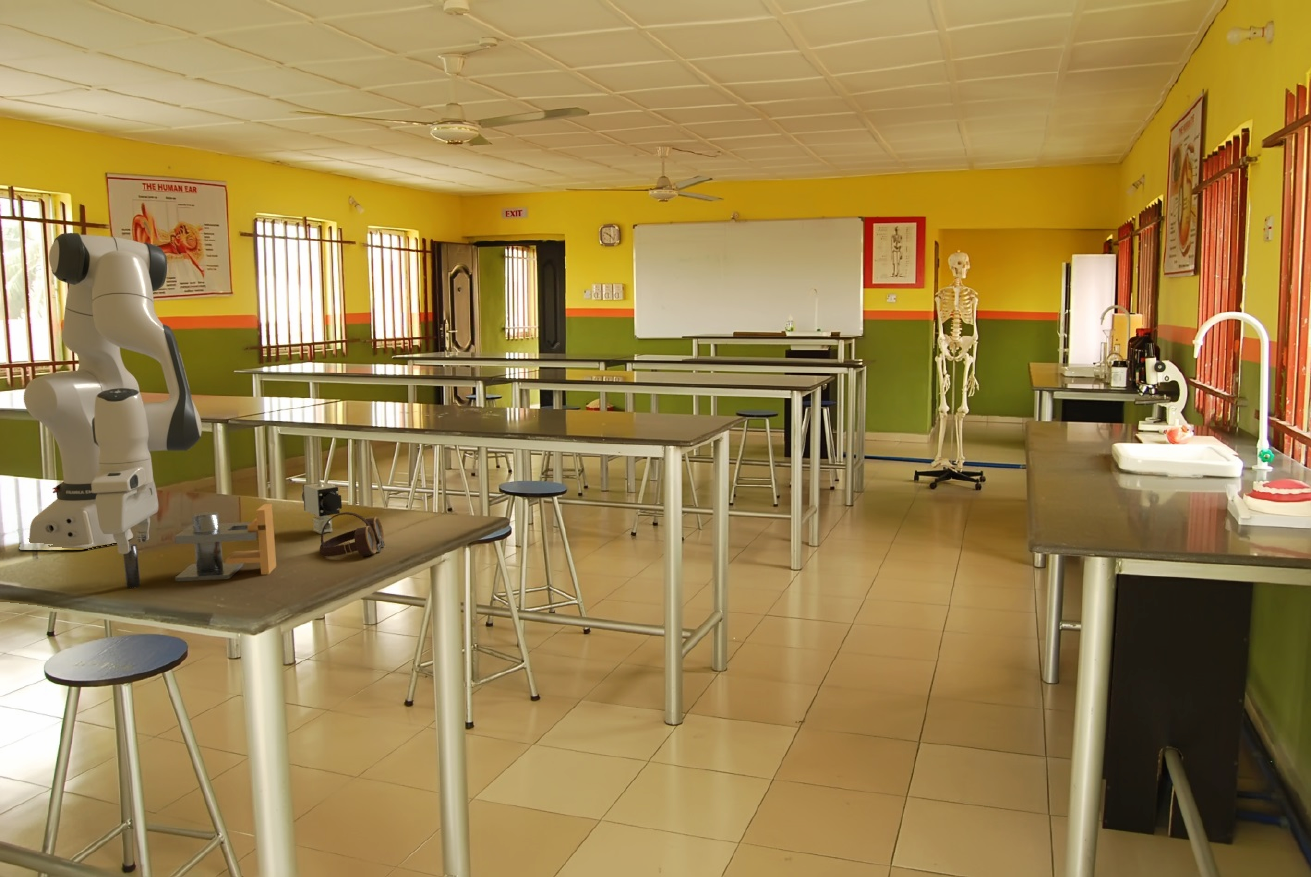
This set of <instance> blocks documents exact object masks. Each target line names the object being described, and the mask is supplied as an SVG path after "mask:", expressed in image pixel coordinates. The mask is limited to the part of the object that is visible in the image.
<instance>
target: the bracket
mask: <svg viewBox="0 0 1311 877" xmlns="http://www.w3.org/2000/svg"><path fill="white" fill-rule="evenodd" d="M255 511H256V518H254V520H252V521H250V522H251V523H250V524H249V525H248V531H254V530H258V547H259V548H258V550H256V549H255V550H254V549H253V550H237V551H233V552H231V553H230V555H229V556H227V557H226V558H225V562H226V564H236V563H243V564H253V563H255V564H256V563H259V564H260V575H262V576H263V575H270V574H271V573H272V572H273V570H275V568H276V567H277V558H276V545H275V544H276V542H275V529H274V516H273V514H274V513H273V503H264V504H262V505H261V506H260V507H259V508H258V509H256V510H255Z"/></svg>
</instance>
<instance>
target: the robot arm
mask: <svg viewBox="0 0 1311 877" xmlns="http://www.w3.org/2000/svg"><path fill="white" fill-rule="evenodd" d="M48 261H49V265H50V268H51V272H52V274H53V276H54V277H55V278H56V279H57V280H59V281H60V282H63V283H66V284H69V285H68V290H67V295H66V298H65V306H64V313H63V323H62V324H63V325H62V332H61V340H62V342H63V344H64V346H65V347H66V348H67V349H68V350H70V351H71V352H72V353H74V354H76V355H77V359H78V368H77V370H69V371H67V370H66V371H60V372H59V371H57V372H52V373H48V374H44V375H41V376H38V377H35V378H34V379H31V380H30V381H29V382H28V383H27V385H26V386H25V389H24V391H23V403H24V407H25V408H26V411H27V412H28V414H29V415H30V416H31V417H32V418H33V419H34V420H37V421H38V422H40V423H41V424H42V425H44V427H46V428H47V429H48V430H49V432H50V433H51V435H52V437H53V438H54V440H55V441H56V443H57V447H58V450H59V453H60V460H61V468H62V469H61V470H62V475H63V481H61V483H59V484H57V485H56V486H55V487H53V488H52V490H53V491H52V493H53V494H55V493H56V499H55V500H54V501H52V502H51V503H50V504H49V505H48V506H47V507H45V508H44V509H43V510H42V511H41V512H39V513H38V514H37V515H36V516H34V517H33V519H32V521H31V524H30V527H29V537H28V539H29V542H30V543H44V544H53V545H51V546H50V545H48V546H49V547H62V548H87V547H88V548H89V547H92V546H97V545H105V544H111V543H117V544H116V546H117V552H118V554H120V555H123V554H127V553H129V552H130V551H131V544H132V542H129V540H131V539H133V537H134V534H133V532H132V530H131V529H132V528H133V527H135V526H137V532H136V533H135V535H136V541H137V542H138V543H144V542H145V543H146V542H147V541H148V540H149V539H150V534H149V532H150V531H149V530H150V526H151V517H152V516H153V515H155V514H157V513H158V511H159V499H158V492H157V488H156V487H157V486H156V483H155V480H154V474H153V473H154V471H153V463H152V461H153V460H152V455H151V452H156V451H159V452H161V451H168V452H169V451H170V452H174V451H177V452H178V451H179V452H181V451H183V452H187V451H189V450H190V449H191V448H193V447H194V446H195V445H196V444H198V442H199V441H200V439H201V437H202V431H203V426H202V424H203V423H202V419H201V416H200V413H199V411H198V409H197V407H196V405H195V403H194V401H193V396H192V393H191V389H190V385H189V382H188V378H187V374H186V370H185V366H184V363H183V358H182V355H181V352H180V349H179V345H178V342H177V339H176V336H175V333H174V331H173V330H172V328H171V327H170V326H169V325H166V324H164V323H162V321H161V320H160V319H159V317H158V316H157V313H156V311H155V301H154V293H153V292H156V291H158V290H159V289H160V288H162V287H163V286H164V284H165V282H166V281H167V280H166V279H167V277H168V272H169V265H168V259H167V255H166V253H165V251H164V250H163V248H161V247H160V246H158V245H156V244H153V243H148V242H139V241H136V240H132V239H128V238H123V237H119V236H118V237H117V236H104V235H95V234H80V233H78V232H65V233H61V234H59V235H58V236H56V237H55V238H54V240H53V242H52V244H51V247H50V249H49V254H48ZM121 349H124V350H128V351H130V352H134V353H135V352H136V353H137V354H138V353H139V354H142V355H145V356H147V357H150V358H152V359H154V360H156V361H157V362H159V364H160V366H161V369H162V372H163V376H164V379H165V380H164V381H165V382H166V383H165V384H166V387H167V392H168V394H169V397H168V399H167V400H164V401H153V402H143V397H142V395H141V391H140V385H139V383H138V380H137V379H136V378H135V376H134V375H133V374H132V373H131V372H130V371H129V370H127V368H126V366H125V364H124V362H123V359H122V354H121Z"/></svg>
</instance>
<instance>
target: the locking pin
mask: <svg viewBox="0 0 1311 877" xmlns="http://www.w3.org/2000/svg"><path fill="white" fill-rule="evenodd" d="M122 555H123V564H124V566H123V567H124V575H125V576H124V577H125V585H126V587H129V588H128V589H135V588H134V587H136V588H139V587H141V575H140V566H139V554H138V545H137V544H135V543H131V551H130V552H129V553H127V554H122ZM130 587H131V588H130ZM132 587H133V588H132Z"/></svg>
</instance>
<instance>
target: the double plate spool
mask: <svg viewBox="0 0 1311 877" xmlns="http://www.w3.org/2000/svg"><path fill="white" fill-rule="evenodd" d="M191 516H192V524H190V525H188V526H187V527H186V528H184V529H183V530H181V531H180V532H178V533H177V534H176V535H174V536H173V537H174V538H173V539H174V544H175V545H176V544H178V545H179V544H194V549H195V550H194V551H195V552H194V553H195V554H194V555H195V563H190V565H189V566H187V567H186V568H185V569H184V570H183V571H180V573H178V575H177V576H174V578H175V579H174V580H175V582H191V581H192V582H193V581H195V582H197V581H211V580H212V581H213V580H230V579H231V578H232V577H233V576H234V575H235V574H236V573H237V572H239V570H240V569H241V568H242V567H243V566H244V563H236V564H226V561H225V562H224V561H223V549H222V543H224V542H245V541H257V539H258V540H259V538H258V530H254V531H248V525H249V524H250V523H251V522H252V521H247V522H246V521H245V522H243V521H242V522H222V523H220V513H219V512H218V511H204V512H202V511H201V512H197V513H194V514H192V515H191Z"/></svg>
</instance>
